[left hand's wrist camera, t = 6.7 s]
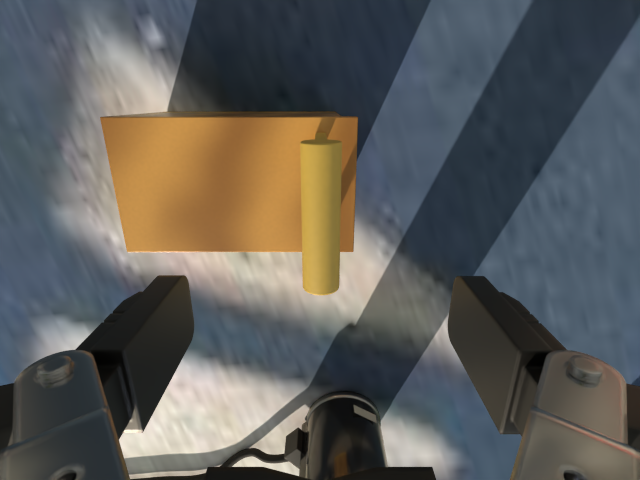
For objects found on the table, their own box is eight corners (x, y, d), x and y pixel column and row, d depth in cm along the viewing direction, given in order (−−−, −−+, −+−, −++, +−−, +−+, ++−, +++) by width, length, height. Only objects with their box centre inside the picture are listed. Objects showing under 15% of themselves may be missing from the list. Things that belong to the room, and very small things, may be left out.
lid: (356, 116, 25) (375, 124, 17) (352, 246, 29) (366, 309, 20) (109, 116, 25) (0, 124, 17) (134, 246, 29) (54, 309, 20)
